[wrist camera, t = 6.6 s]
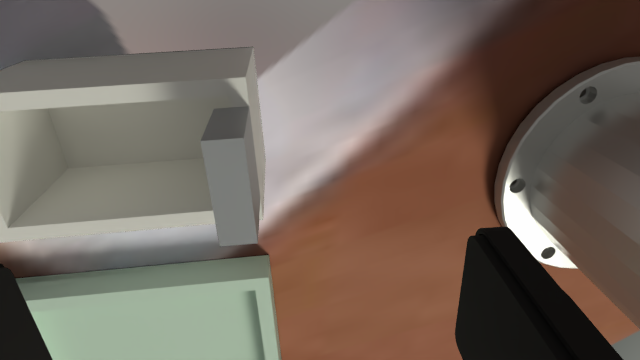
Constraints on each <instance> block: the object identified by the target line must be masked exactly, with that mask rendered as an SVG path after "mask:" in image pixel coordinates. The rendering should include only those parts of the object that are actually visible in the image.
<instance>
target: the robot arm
mask: <svg viewBox="0 0 640 360" xmlns="http://www.w3.org/2000/svg"><path fill="white" fill-rule="evenodd" d="M494 203H495V207H496V212H497V216H498V220H499V222H500V223H501V225H502V227H493V228H480V229H478V230H477V232H476V235H475V236H470V237H469V239H468V242H467V249H466V256H465V263H464V270H463V278H462V285H461V292H460V299H459V307H458V314H457V321H456V328H455V337H456V343H457V346H458V349H459V351H460V354H461V356H462V358H463V360H623V359H622V358H621V357H620V355H619V354H618V353H617V352H616V351H615V350H614V348H613V347H612V346H611V345H610V344H609V342H608V341H607V340H606V339H605V338H604V337H603V335H602V334H601V333H600V332H599V331H598V330H597V328H596V327H595V326H594V325H593V324H592V322H591V321H590V320H589V319H588V318H587V317H586V315H585V314H584V313H583V312H582V311H581V309H580V308H579V307H578V306H577V305H576V304H575V302H574V301H573V300H572V299H571V298H570V297H569V296H568V295H567V294H566V293H565V292H564V291H563V290H562V289H561V288H560V287H559V286H558V284H557V283H556V282H555V281H554V280H553V278H552V277H551V276H550V275H549V274H548V273H547V271H546V270H545V269H544V268H543V267H542V265H541V264H540V263H543V264H547V265H550V266H554V267H558V268H574V269H577V268H578V269H579V270H580V271H582V272H583V273H584V274H585V275H586V276H587V277H588V278H589V279H590V280H591V281H592V282H593V283H594V284H595V285H596V286H597V287H598V288H599V289H600V290H601V291H602V292H603V293H604V294H605V295H606V296H607V297H608V298H609V299H610V300H611V301H612V302H613V303H614V304H615V305H616V306H617V307H618V308H619V309H620V310H621V311H622V312H623V313H624V314H625V315H626V316H627V317H628V318H629V319H630V320H631V321H632V322H633V323H634V324H635V325H636V326H637V327H638V328H639V329H640V57H628V58H622V59H618V60H614V61H610V62H606V63H603V64H600V65H598V66H595V67H593V68H591V69H589V70H586V71H584V72H582V73H580V74H578V75H576V76H574V77H573V78H571V79H570V80H568V81H567V82H565V83H564V84H562V85H560V86H559V87H557V88H556V89H555V90H554V91H552V92H551V93H550V94H549V95H548V96H547V97H545V98H544V99H543V100H542V101H541V102H540V103H539V104H537V105H536V106H535V108H534V109H533V110H532V111H531V112H530V113H529V115H528V116H527V117H526V118H525V119H524V120H523V122H522V123H521V124H520V125H519V127H518V128H517V130H516V132H515V133H514V135H513V136H512V138H511V140H510V141H509V143H508V144H507V147H506V149H505V151H504V154H503V156H502V159H501V161H500V163H499V167H498V171H497V176H496V180H495V195H494ZM539 262H540V263H539ZM0 360H53V359H52V357H51V355H50V353H49V351H48V349H47V346H46V344H45V342H44V340H43V338H42V336H41V334H40V331H39V329H38V327H37V325H36V323H35V321H34V318H33V316H32V314H31V312H30V310H29V308H28V306H27V303H26V301H25V299H24V297H23V295H22V293H21V290H20V288H19V286H18V284H17V282H16V280H15V278H14V275H13V273H12V272H11V270H9V269H8V268H4V266H3V265H2V264H1V263H0Z"/></svg>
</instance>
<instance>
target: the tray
mask: <svg viewBox="0 0 640 360" xmlns="http://www.w3.org/2000/svg"><path fill="white" fill-rule="evenodd" d="M15 280H16V282H17V284H18V286H19V288H20V290H21V293H22V295H23V297H24V299H25V301H26V303H27V306H28V308H29V310H30V312H31V314H32V316H33V318H34V321H35V323H36V325H37V327H38V329H39V331H40V334H41V336H42V338H43V340H44V342H45V344H46V346H47V349H48V351H49V353H50V355H51V357H52V359H53V360H281V352H280V343H279V335H278V327H277V318H276V310H275V302H274V293H273V285H272V277H271V268H270V260H269V255H262V256H251V257H241V258H230V259H219V260H209V261H198V262H187V263H176V264H166V265H155V266H144V267H134V268H123V269H112V270H101V271H91V272H80V273H69V274H59V275H48V276H37V277H26V278H16V279H15Z"/></svg>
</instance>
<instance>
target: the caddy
mask: <svg viewBox="0 0 640 360" xmlns="http://www.w3.org/2000/svg"><path fill="white" fill-rule="evenodd" d="M265 162H266V158H265V149H264V139H263V130H262V121H261V112H260V103H259V94H258V85H257V75H256V66H255V56H254V47H240V48H223V49H206V50H189V51H173V52H156V53H139V54H128V55H112V56H95V57H78V58H61V59H44V60H28V61H23V62H20V63H18V64H15V65H13V66H10V67H7V68H5V69H2V70H0V243H1V242H12V241H24V240H35V239H47V238H58V237H70V236H81V235H92V234H104V233H115V232H127V231H138V230H150V229H161V228H172V227H184V226H195V225H207V224H216V229H217V234H218V240H219V245H220V247H222V246H233V245H244V244H255V243H258V230H259V220H263V210H264V186H265Z"/></svg>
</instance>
